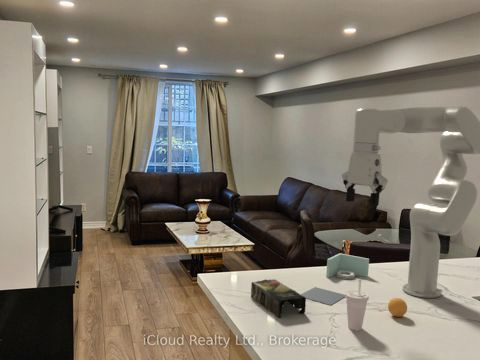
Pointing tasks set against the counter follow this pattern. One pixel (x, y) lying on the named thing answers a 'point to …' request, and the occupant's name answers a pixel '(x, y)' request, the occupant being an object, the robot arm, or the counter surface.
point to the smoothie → (356, 308)
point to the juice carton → (276, 296)
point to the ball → (397, 307)
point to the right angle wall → (347, 266)
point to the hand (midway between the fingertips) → (361, 203)
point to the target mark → (322, 296)
